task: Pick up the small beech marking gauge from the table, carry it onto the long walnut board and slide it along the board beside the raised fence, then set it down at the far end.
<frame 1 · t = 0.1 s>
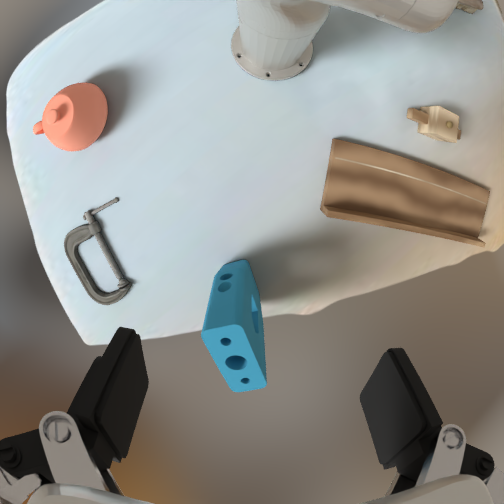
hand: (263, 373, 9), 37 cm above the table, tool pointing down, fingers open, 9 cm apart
sugar bowl: (82, 118, 37), on the table
gauge: (429, 123, 38), on the table
c clamp: (103, 256, 49), on the table
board: (420, 196, 43), on the table
block: (241, 281, 50), on the table
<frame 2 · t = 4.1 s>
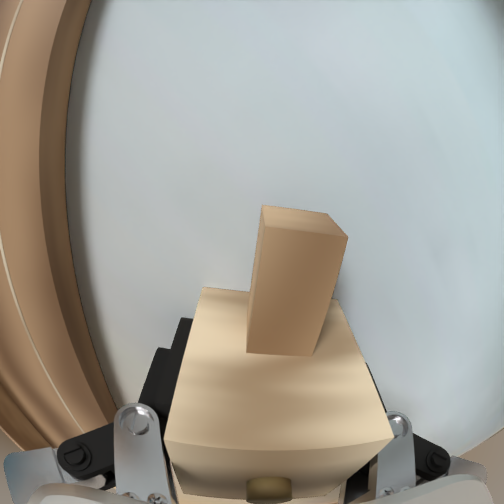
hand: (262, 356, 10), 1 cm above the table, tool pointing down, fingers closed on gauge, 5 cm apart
gauge: (262, 344, 11), on the table, touching gripper
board: (10, 307, 10), on the table
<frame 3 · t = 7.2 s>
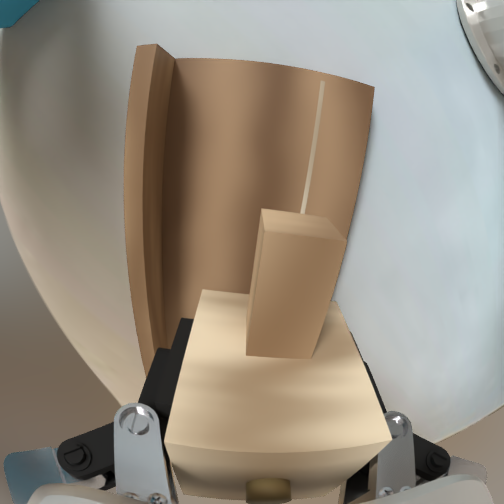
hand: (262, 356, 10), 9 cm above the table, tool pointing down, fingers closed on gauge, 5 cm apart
gauge: (261, 346, 11), point 8 cm above the table, touching gripper
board: (233, 341, 21), on the table
when the fingers open (2 cm above the table, at t = 12.7 s): gauge stays where it is, resting on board.
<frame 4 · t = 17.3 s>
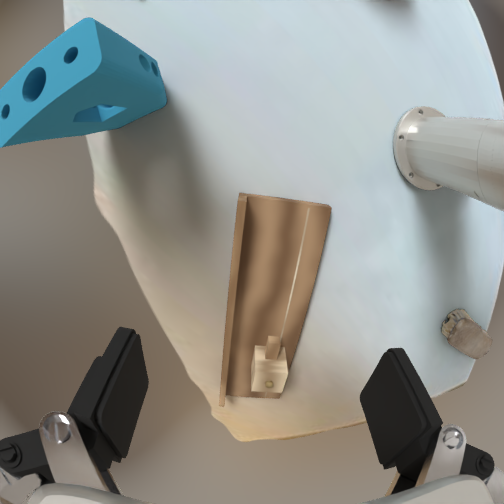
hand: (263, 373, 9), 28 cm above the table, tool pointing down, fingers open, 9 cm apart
gauge: (267, 356, 45), point 2 cm above the table, touching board
beige mottled oblong part: (464, 330, 47), on the table
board: (264, 319, 43), on the table
block: (135, 102, 30), on the table
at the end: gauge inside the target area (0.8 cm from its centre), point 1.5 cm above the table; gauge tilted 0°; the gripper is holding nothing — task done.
